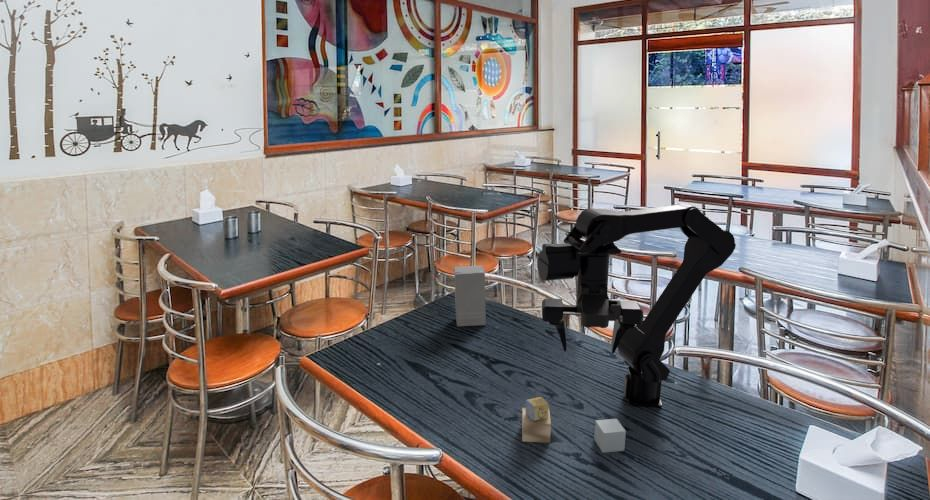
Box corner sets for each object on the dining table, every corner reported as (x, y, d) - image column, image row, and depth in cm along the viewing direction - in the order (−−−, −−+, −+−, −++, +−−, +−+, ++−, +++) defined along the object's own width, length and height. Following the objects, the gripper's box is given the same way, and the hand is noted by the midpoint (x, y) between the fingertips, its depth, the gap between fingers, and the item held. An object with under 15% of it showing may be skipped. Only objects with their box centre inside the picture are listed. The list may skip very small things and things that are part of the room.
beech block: (548, 427, 104) (549, 408, 103) (550, 443, 99) (550, 424, 98) (521, 426, 105) (522, 407, 104) (522, 442, 100) (522, 422, 99)
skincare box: (484, 317, 157) (484, 264, 152) (486, 327, 150) (486, 272, 146) (454, 317, 156) (454, 264, 152) (454, 327, 149) (454, 272, 145)
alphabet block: (525, 413, 102) (525, 398, 101) (539, 410, 103) (540, 395, 102) (533, 422, 99) (534, 407, 98) (548, 418, 100) (549, 403, 99)
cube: (615, 437, 101) (616, 418, 100) (624, 451, 97) (625, 431, 96) (594, 439, 100) (595, 420, 99) (602, 453, 97) (604, 433, 96)
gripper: (544, 289, 97) (541, 368, 102) (652, 292, 95) (645, 373, 100) (542, 270, 108) (540, 343, 112) (640, 272, 106) (634, 346, 110)
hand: (588, 351), depth 108 cm, fingers open, 9 cm apart
